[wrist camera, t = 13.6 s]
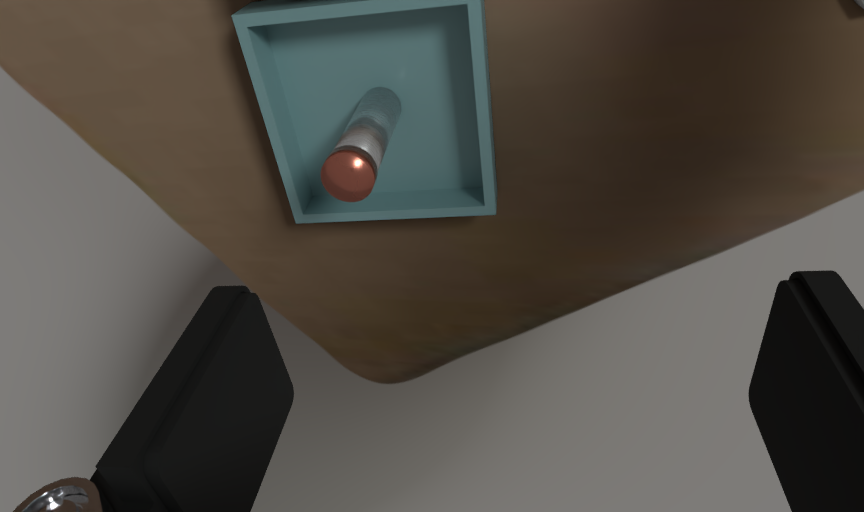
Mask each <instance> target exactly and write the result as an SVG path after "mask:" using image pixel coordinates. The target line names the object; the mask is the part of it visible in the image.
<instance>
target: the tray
mask: <svg viewBox="0 0 864 512" xmlns="http://www.w3.org/2000/svg"><path fill="white" fill-rule="evenodd" d="M231 16H232V19H233V22H234V25H235V29H236V32H237V35H238V38H239V42H240V45H241V48H242V51H243V54H244V58H245V61H246V64H247V67H248V71H249V74H250V77H251V80H252V84H253V87H254V90H255V93H256V96H257V100H258V103H259V106H260V109H261V113H262V116H263V119H264V122H265V125H266V129H267V132H268V135H269V138H270V142H271V145H272V148H273V151H274V154H275V158H276V161H277V164H278V167H279V171H280V174H281V177H282V180H283V184H284V187H285V190H286V193H287V196H288V200H289V203H290V206H291V209H292V213H293V216H294V219H295V222H296V224H298V223H320V222H343V221H366V220H388V219H411V218H434V217H456V216H479V215H496V208H497V178H496V164H495V150H494V136H493V121H492V107H491V93H490V78H489V64H488V50H487V36H486V21H485V7H484V0H265V1H256V2H251V3H249V4H248V5H246V6H245V7H243V8H242V9H240V10H239V11H237V12H236V13H234V14H233V15H231ZM375 87H385V88H388V89H390V90H392V91H393V92H394V93H395V94H396V95H397V96H398V97H399V99H400V102H401V106H402V111H401V115H400V117H399V120H398V122H397V125H396V127H395V130H394V132H393V135H392V137H391V140H390V142H389V145H388V147H387V150H386V152H385V155H384V157H383V160H382V162H381V165H380V167H379V170H378V175H377V179H376V182H375V184H374V187H373V189H372V191H371V193H370V194H369V195H368V196H367V197H366V198H365V199H363V200H361V201H358V202H344V201H341V200H338V199H336V198H335V197H333V196H332V195H330V194H329V193H328V192H327V190H326V189H325V188H324V186H323V184H322V181H321V175H320V174H321V168H322V166H323V164H324V162H325V161H326V159H327V157H328V155H329V154H330V153H331V151H333V150H334V148H335V146H336V144H337V143H338V141H339V139H340V137H341V136H342V134H343V132H344V130H345V128H346V127H347V125H348V123H349V121H350V120H351V118H352V116H353V114H354V112H355V111H356V109H357V107H358V105H359V104H360V102H361V100H362V98H363V96H364V95H365V93H366V92H367V91H369V90H370V89H372V88H375Z"/></svg>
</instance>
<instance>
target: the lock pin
mask: <svg viewBox="0 0 864 512" xmlns="http://www.w3.org/2000/svg"><path fill="white" fill-rule="evenodd" d="M401 111H402V106H401V102H400V99H399V97H398V96H397V95H396V94H395V93H394V92H393V91H392V90H390V89H388V88H385V87H375V88H372V89H370V90H369V91H367V92H366V93H365V95H364V96H363V98H362V100H361V102H360V104H359V105H358V107H357V109H356V111H355V112H354V114H353V116H352V118H351V120H350V121H349V123H348V125H347V127H346V128H345V130H344V132H343V134H342V136H341V137H340V139H339V141H338V143H337V144H336V146H335V148H334V150H333V151H331V153H330V154H329V155H328V157H327V159H326V161H325V162H324V164H323V166H322V168H321V174H320V175H321V181H322V184H323V186H324V188H325V189H326V190H327V192H328V193H329V194H330V195H332V196H333V197H335V198H336V199H338V200H341V201H344V202H358V201H361V200H363V199H365V198H366V197H367V196H368V195H369V194H370V193H371V191H372V189H373V187H374V184H375V182H376V179H377V175H378V170H379V167H380V165H381V162H382V160H383V157H384V155H385V152H386V150H387V147H388V145H389V142H390V140H391V137H392V135H393V132H394V130H395V127H396V125H397V122H398V120H399V117H400V115H401Z"/></svg>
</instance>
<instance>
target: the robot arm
mask: <svg viewBox="0 0 864 512" xmlns="http://www.w3.org/2000/svg"><path fill="white" fill-rule="evenodd" d="M293 397H294V391H293V385H292V382H291V380H290V377H289V374H288V372H287V369H286V367H285V364H284V362H283V359H282V356H281V354H280V351H279V349H278V346H277V343H276V341H275V338H274V336H273V333H272V331H271V328H270V325H269V323H268V321H267V318H266V315H265V313H264V310H263V307H262V305H261V303H260V300H259V297H258V296H257V295H256V294H255V293H251V292H250V291H249V289H248V288H247V287H246V286H217V287H214V288H213V289H212V290H211V291H210V293H209V294H208V296H207V297H206V299H205V300H204V302H203V303H202V305H201V306H200V308H199V309H198V311H197V313H196V314H195V316H194V317H193V319H192V320H191V322H190V323H189V325H188V326H187V328H186V330H185V331H184V332H183V334H182V335H181V337H180V338H179V340H178V341H177V343H176V345H175V346H174V348H173V349H172V351H171V352H170V354H169V355H168V357H167V358H166V360H165V361H164V363H163V364H162V366H161V367H160V369H159V371H158V372H157V373H156V375H155V377H154V378H153V380H152V381H151V383H150V384H149V386H148V387H147V389H146V390H145V392H144V393H143V395H142V396H141V398H140V400H139V401H138V402H137V404H136V405H135V407H134V409H133V410H132V412H131V413H130V415H129V416H128V418H127V419H126V421H125V422H124V424H123V425H122V427H121V429H120V430H119V431H118V433H117V435H116V436H115V438H114V439H113V441H112V442H111V444H110V445H109V447H108V448H107V450H106V451H105V453H104V454H103V456H102V458H101V459H100V460H99V462H98V464H97V465H96V468H97V470H96V471H95V473H94V474H93V476H92V477H91V479H90V480H88V479H86V478H79V477H71V478H65V479H60V480H58V481H55V482H53V483H50V484H48V485H46V486H44V487H42V488H41V489H39V490H38V491H36V492H34V493H33V494H31V495H30V496H29V497H28V498H26V500H24V501H23V502H22V503H21V504H20V505H19V506H17V508H16V509H15V510H14V511H13V512H250V511H251V509H252V506H253V503H254V501H255V498H256V496H257V493H258V491H259V488H260V486H261V483H262V480H263V478H264V475H265V472H266V470H267V467H268V465H269V462H270V460H271V457H272V455H273V452H274V449H275V447H276V444H277V442H278V439H279V436H280V434H281V431H282V429H283V426H284V424H285V421H286V419H287V416H288V413H289V411H290V408H291V405H292V402H293ZM749 402H750V407H751V410H752V413H753V415H754V417H755V420H756V422H757V425H758V427H759V430H760V432H761V435H762V438H763V440H764V443H765V445H766V447H767V450H768V453H769V455H770V458H771V460H772V463H773V465H774V468H775V470H776V473H777V475H778V478H779V480H780V483H781V485H782V488H783V491H784V493H785V496H786V498H787V501H788V503H789V506H790V508H791V511H792V512H864V309H863V308H862V306H861V305H860V304H859V302H858V301H857V300H856V298H855V297H854V295H853V294H852V292H851V291H850V290H849V288H848V287H847V285H846V284H845V283H844V281H843V280H842V278H841V277H840V276H839V275H838V274H837V273H836V272H834V271H798V272H793V273H792V274H791V276H790V278H789V280H783V281H780V283H779V284H778V287H777V289H776V293H775V297H774V300H773V304H772V308H771V311H770V315H769V319H768V322H767V325H766V329H765V333H764V336H763V340H762V343H761V347H760V351H759V354H758V358H757V362H756V365H755V369H754V372H753V376H752V379H751V383H750V387H749Z"/></svg>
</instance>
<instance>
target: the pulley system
mask: <svg viewBox="0 0 864 512" xmlns="http://www.w3.org/2000/svg"><path fill="white" fill-rule="evenodd" d="M854 1H855V2H856V3H857V4H858V5H859V6H861V7H862V8H863V9H864V0H854Z"/></svg>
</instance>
